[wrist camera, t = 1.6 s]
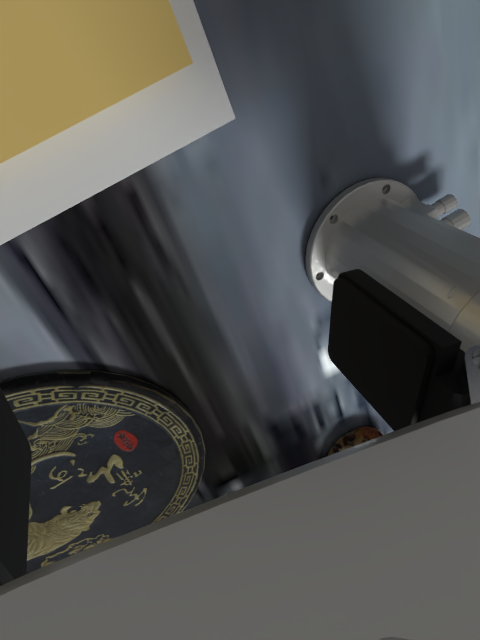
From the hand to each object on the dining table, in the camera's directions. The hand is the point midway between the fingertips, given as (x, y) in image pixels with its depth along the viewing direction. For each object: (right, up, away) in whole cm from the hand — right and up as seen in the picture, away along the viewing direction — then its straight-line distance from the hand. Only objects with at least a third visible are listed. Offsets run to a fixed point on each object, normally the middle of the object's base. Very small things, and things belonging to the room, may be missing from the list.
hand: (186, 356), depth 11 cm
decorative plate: (-17, -16, +32) cm, 39 cm away
